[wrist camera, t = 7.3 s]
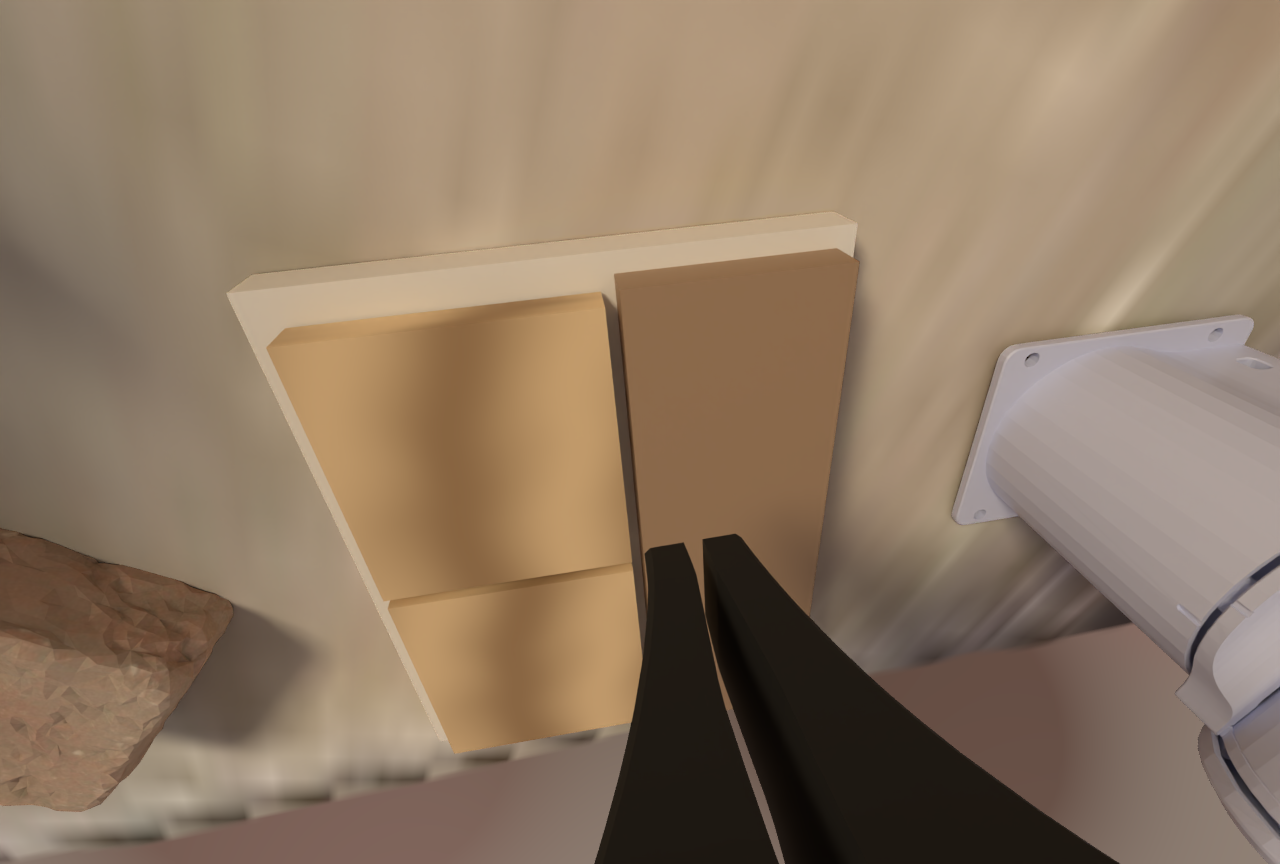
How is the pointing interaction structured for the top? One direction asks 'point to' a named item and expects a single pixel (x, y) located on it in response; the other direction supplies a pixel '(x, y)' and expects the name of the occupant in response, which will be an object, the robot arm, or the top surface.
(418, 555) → the plank
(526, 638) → the plank
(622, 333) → the floor board
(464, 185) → the top surface
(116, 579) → the brick
